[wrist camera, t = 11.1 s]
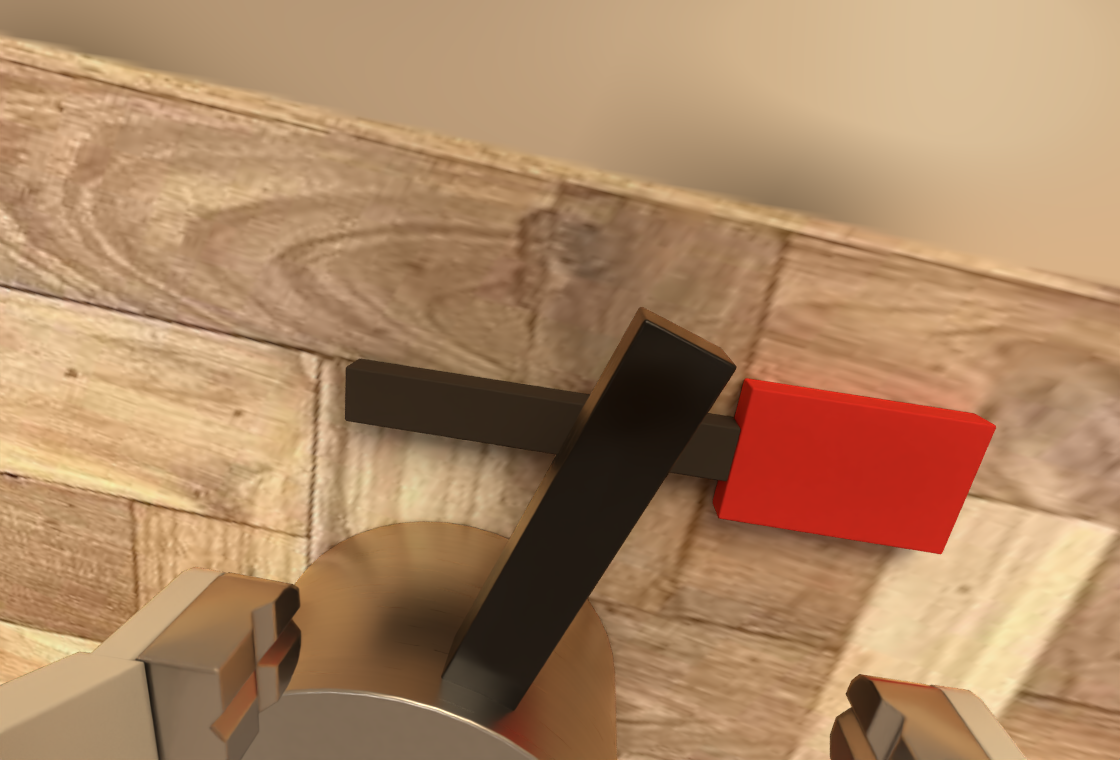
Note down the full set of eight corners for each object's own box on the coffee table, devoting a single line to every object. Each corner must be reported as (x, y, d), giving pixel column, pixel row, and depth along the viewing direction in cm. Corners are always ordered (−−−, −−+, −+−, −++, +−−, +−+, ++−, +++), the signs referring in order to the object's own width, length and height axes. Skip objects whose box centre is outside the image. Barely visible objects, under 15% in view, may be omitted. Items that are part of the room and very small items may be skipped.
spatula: (359, 318, 17) (345, 324, 16) (975, 413, 16) (998, 426, 15) (357, 445, 18) (343, 458, 17) (924, 536, 18) (942, 555, 17)
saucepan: (459, 187, 15) (351, 173, 9) (846, 390, 16) (1013, 516, 10) (243, 709, 22) (91, 922, 16) (524, 830, 23) (493, 1078, 17)
